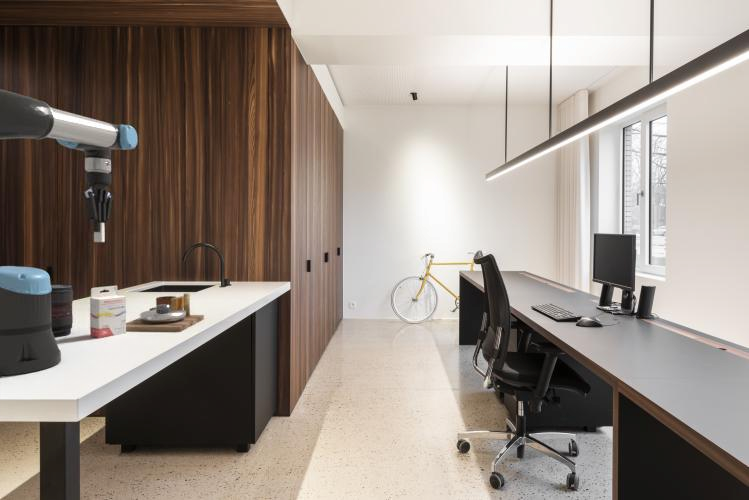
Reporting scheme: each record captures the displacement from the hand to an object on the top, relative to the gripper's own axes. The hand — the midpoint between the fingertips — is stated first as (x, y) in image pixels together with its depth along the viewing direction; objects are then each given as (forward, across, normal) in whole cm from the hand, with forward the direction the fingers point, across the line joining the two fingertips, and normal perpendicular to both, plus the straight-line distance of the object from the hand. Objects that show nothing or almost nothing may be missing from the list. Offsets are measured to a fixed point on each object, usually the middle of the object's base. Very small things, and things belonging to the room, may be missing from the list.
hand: (99, 241), depth 155 cm
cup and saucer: (+28, +20, -13) cm, 37 cm away
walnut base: (+28, 0, -22) cm, 36 cm away
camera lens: (+28, -18, +2) cm, 33 cm away
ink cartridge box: (+28, -16, -13) cm, 35 cm away
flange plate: (+26, +2, -23) cm, 34 cm away
